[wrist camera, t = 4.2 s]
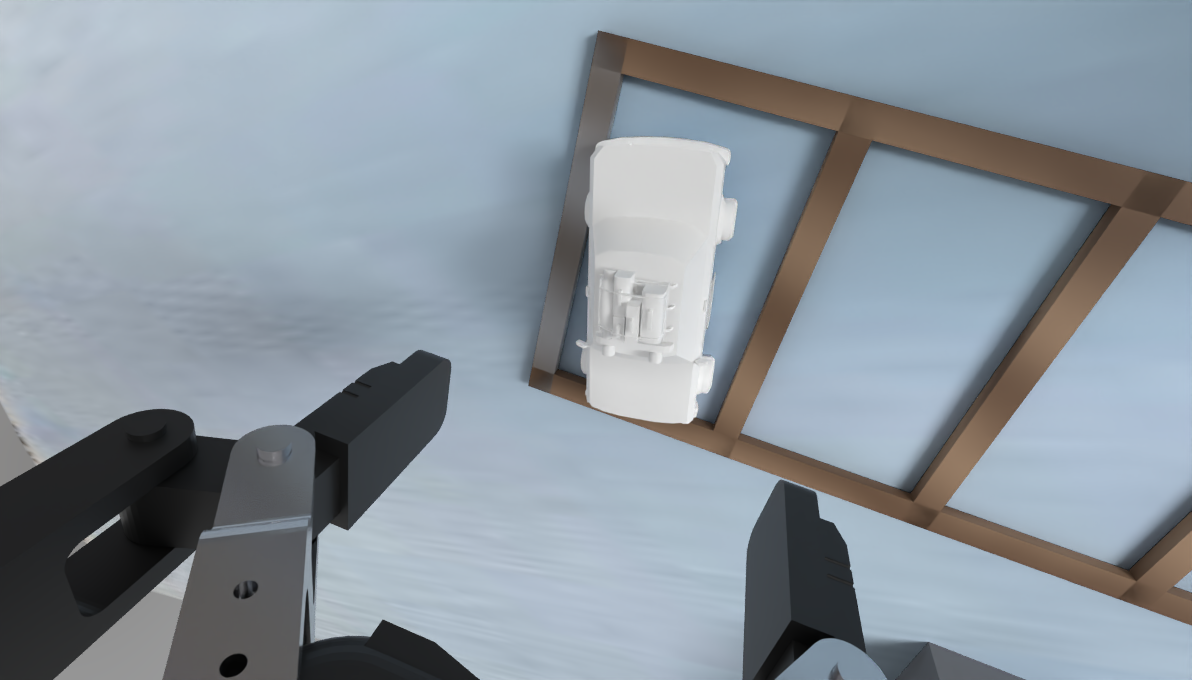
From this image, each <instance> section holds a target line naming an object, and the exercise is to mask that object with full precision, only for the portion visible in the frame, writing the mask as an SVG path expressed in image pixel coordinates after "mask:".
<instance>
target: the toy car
mask: <svg viewBox="0 0 1192 680" xmlns="http://www.w3.org/2000/svg"><path fill="white" fill-rule="evenodd" d="M730 159H731V152H730V150H729V149H728V148H725V147H722V146H719V145H715V144H712V143H709V142H704V141H697V140H691V139H683V138H673V137H655V136H637V137H619V138H614V139H609V140H604V141H601V142H599V143H597V145H596V147H595V152H594V153H593V154H592V155H591V157H590V192H589V193H588V195H587V198H586V202H585V211H584V212H585V220H586V223H587V225H588V227H589V262H588V286H586V297H588V310H587V341H586V342H584V341H582V340H577V341H576V345H577V346H579V347H581V348H583V350H582V355H581V369H582V371H583V373H584V374H587V384H586V391H585V395H586V398H587V402H589V403H590V405H591V406H592V407H594V408H598V409H600V410H601V411H604V412H608V413H612V414H615V415H619V416H624V417H630V418H635V419H641V420H646V421H652V422H660V423H672V424H674V423H682V424H689V423H690V422H691V421H693V418H695V417H696V416H697V412H698V403H697V401H696V395H698V394H701V393H705V394H707V393H708V392H709V391H710V388H711V386H712V379H713V372H714V365H715V359H714V358H713V357H711V355H707V354H702V353H703V345H704V337H705V329H708V325H709V321H710V315H711V307H712V299H713V292H714V284H715V276H716V272H714V276H713V279H712V274H713V266H714V258H715V250H716V245H718V244H721V240H726V241H729V240H730V239H731V238H732V237H733V234H734V227H735V220H736V213H737V206H738V203H737V201H736V199H733V198H724V195H723V194H722V192H723V184H724V176H725V168H726V165H728V166H729V163H730ZM706 321H707V322H706Z"/></svg>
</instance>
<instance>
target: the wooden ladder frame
mask: <svg viewBox="0 0 1192 680" xmlns="http://www.w3.org/2000/svg"><path fill="white" fill-rule="evenodd" d="M624 74H625V75H629V76H633V77H636V78H640V79H644V80H648V81H651V82H655V83H659V84H663V85H666V86H670V87H674V88H678V89H681V90H685V91H689V92H693V93H696V94H700V95H704V96H708V97H711V98H715V99H719V100H723V101H726V102H730V103H734V104H738V105H741V106H745V107H749V108H753V109H756V110H760V111H764V112H768V113H771V114H775V115H779V116H783V117H786V118H790V119H794V120H798V121H801V122H805V123H809V124H813V125H816V126H820V127H824V128H828V129H831V130H835V131H836V133H835V135H834V137H833V140H832V142H831V145H830V147H829V149H828V152H827V154H826V157H825V159H824V161H823V164H822V166H821V169H820V171H819V173H818V176H817V178H816V181H815V183H814V185H813V188H812V190H811V193H810V195H809V198H808V200H807V202H806V205H805V207H804V210H803V212H802V214H801V217H800V219H799V222H798V224H797V226H796V229H795V231H794V234H793V236H792V238H791V241H790V243H789V246H788V248H787V250H786V253H785V255H784V258H783V260H782V262H781V265H780V267H779V270H778V272H777V274H776V277H775V279H774V282H773V284H772V286H771V289H770V291H769V294H768V296H767V298H766V301H765V303H764V306H763V308H762V310H761V313H760V315H759V318H758V320H757V322H756V325H755V327H754V330H753V332H752V334H751V337H750V339H749V342H748V344H747V346H746V349H745V351H744V354H743V356H742V358H741V361H740V363H739V366H738V368H737V370H736V373H735V375H734V378H733V380H732V382H731V385H730V387H729V390H728V392H727V395H726V397H725V399H724V402H723V404H722V407H721V409H720V411H719V414H718V416H717V419H716V421H715V423H714V424H713V423H710V422H707V421H704V420H701V419H698V418H696V417H695V418H693V421H691V422H690V423H689V424H682V423H674V424H672V423H660V422H652V421H646V420H641V419H635V418H630V417H624V416H619V415H615V414H612V413H608V412H604V411H601V410H600V409H598V408H594V407H592V406H591V405H590V403H589V402H587V398H586V395H585V391H586V384H587V379H585V378H583V377H580V376H577V375H574V374H571V373H568V372H566V371H563V370H560V369H558V367H559V362H560V358H561V353H562V349H563V344H564V340H565V336H566V331H567V327H568V322H569V318H570V313H571V309H572V304H573V300H574V296H575V291H576V287H577V282H578V278H579V273H580V269H581V264H582V260H583V256H584V251H585V247H586V242H587V238H588V233H589V227H588V225H587V223H586V220H585V212H584V211H585V202H586V198H587V195H588V193H589V192H590V157H591V155H592V154H593V153H594V152H595V147H596V145H597V143H599V142H601V141H604V140H609V139H610V135H611V131H612V126H613V122H614V118H615V113H616V109H617V104H618V100H619V95H620V91H621V86H622V82H623V78H624ZM872 140H873V141H876V142H880V143H884V144H888V145H891V146H895V147H899V148H903V149H906V150H910V151H914V152H918V153H921V154H925V155H929V156H933V157H936V158H940V159H944V160H948V161H951V162H955V163H959V164H963V165H966V166H970V167H974V168H978V169H981V170H985V171H989V172H993V173H996V174H1000V175H1004V176H1008V177H1011V178H1015V179H1019V180H1023V181H1026V182H1030V183H1034V184H1038V185H1041V186H1045V187H1049V188H1053V189H1056V190H1060V191H1064V192H1068V193H1071V194H1075V195H1079V196H1083V197H1086V198H1090V199H1094V200H1098V201H1101V202H1105V203H1109V204H1111V205H1110V207H1109V208H1108V210H1107V211H1106V212H1105V214H1104V215H1103V217H1102V218H1101V220H1100V221H1099V223H1098V224H1097V225H1096V227H1095V228H1094V230H1093V231H1092V233H1091V234H1090V236H1089V237H1088V238H1087V240H1086V241H1085V243H1084V244H1083V246H1082V247H1081V249H1080V250H1079V251H1078V253H1077V254H1076V256H1075V257H1074V259H1073V260H1072V261H1071V263H1070V264H1069V266H1068V267H1067V269H1066V270H1065V272H1064V273H1063V274H1062V276H1061V277H1060V279H1059V280H1058V282H1057V283H1056V285H1055V286H1054V287H1053V289H1052V290H1051V292H1050V293H1049V295H1048V296H1047V298H1046V299H1045V300H1044V302H1043V303H1042V305H1041V306H1040V308H1039V309H1038V310H1037V312H1036V313H1035V315H1034V316H1033V318H1032V319H1031V321H1030V322H1029V323H1028V325H1027V326H1026V328H1025V329H1024V331H1023V332H1022V334H1021V335H1020V336H1019V338H1018V339H1017V341H1016V342H1015V344H1014V345H1013V347H1012V348H1011V349H1010V351H1009V352H1008V354H1007V355H1006V357H1005V358H1004V359H1003V361H1002V362H1001V364H1000V365H999V367H998V368H997V370H996V371H995V372H994V374H993V375H992V377H991V378H990V380H989V381H988V383H987V384H986V385H985V387H984V388H983V390H982V391H981V393H980V394H979V396H978V397H977V398H976V400H975V401H974V403H973V404H972V406H971V407H970V408H969V410H968V411H967V413H966V414H965V416H964V417H963V419H962V420H961V421H960V423H959V424H958V426H957V427H956V429H955V430H954V432H953V433H952V434H951V436H950V437H949V439H948V440H947V442H946V443H945V444H944V446H943V447H942V449H941V450H940V452H939V453H938V455H937V456H936V457H935V459H934V460H933V462H932V463H931V465H930V466H929V468H928V469H927V470H926V472H925V473H924V475H923V476H922V478H921V479H920V481H919V482H918V483H917V485H916V486H915V488H914V489H913V491H912V492H911V493H908V492H905V491H902V490H899V489H896V488H894V487H891V486H888V485H885V484H882V483H879V482H877V481H874V480H871V479H868V478H865V477H862V476H860V475H857V474H854V473H851V472H848V471H845V470H843V469H840V468H837V467H834V466H831V465H829V464H826V463H823V462H820V461H817V460H814V459H812V458H809V457H806V456H803V455H800V454H797V453H795V452H792V451H789V450H786V449H783V448H780V447H778V446H775V445H772V444H769V443H766V442H763V441H761V440H758V439H755V438H752V437H749V436H747V435H744V434H741V433H740V432H741V430H742V428H743V426H744V424H745V421H746V419H747V417H748V415H749V412H750V410H751V408H752V406H753V404H754V401H755V399H756V397H757V395H758V392H759V390H760V388H761V386H762V384H763V381H764V379H765V377H766V375H767V373H768V370H769V368H770V366H771V364H772V361H773V359H774V357H775V355H776V353H777V350H778V348H779V346H780V344H781V341H782V339H783V337H784V335H785V333H786V330H787V328H788V326H789V324H790V321H791V319H792V317H793V315H794V313H795V310H796V308H797V306H798V304H799V301H800V299H801V297H802V295H803V293H804V290H805V288H806V286H807V284H808V281H809V279H810V277H811V275H812V273H813V270H814V268H815V266H816V264H817V262H818V259H819V257H820V255H821V253H822V250H823V248H824V246H825V244H826V242H827V239H828V237H829V235H830V233H831V230H832V228H833V226H834V224H835V222H836V219H837V217H838V215H839V213H840V210H841V208H842V206H843V204H844V202H845V199H846V197H847V195H848V193H849V190H850V188H851V186H852V184H853V182H854V179H855V177H856V175H857V173H858V170H859V168H860V166H861V164H862V162H863V159H864V157H865V155H866V153H867V150H868V148H869V146H870V144H871V142H872ZM1160 217H1161V218H1165V219H1169V220H1173V221H1176V222H1180V223H1184V224H1188V225H1191V226H1192V183H1191V182H1187V181H1183V180H1180V179H1176V178H1172V177H1168V176H1164V175H1160V174H1156V173H1152V172H1148V171H1144V170H1141V169H1137V168H1133V167H1129V166H1125V165H1121V164H1117V163H1113V162H1109V161H1105V160H1102V159H1098V158H1094V157H1090V156H1086V155H1082V154H1078V153H1074V152H1070V151H1066V150H1063V149H1059V148H1055V147H1051V146H1047V145H1043V144H1039V143H1035V142H1031V141H1027V140H1024V139H1020V138H1016V137H1012V136H1008V135H1004V134H1000V133H996V132H992V131H988V130H985V129H981V128H977V127H973V126H969V125H965V124H961V123H957V122H953V121H949V120H946V119H942V118H938V117H934V116H930V115H926V114H922V113H918V112H914V111H910V110H907V109H903V108H899V107H895V106H891V105H887V104H883V103H879V102H875V101H872V100H868V99H864V98H860V97H856V96H852V95H848V94H844V93H840V92H836V91H833V90H829V89H825V88H821V87H817V86H813V85H809V84H805V83H801V82H797V81H794V80H790V79H786V78H782V77H778V76H774V75H770V74H766V73H762V72H758V71H755V70H751V69H747V68H743V67H739V66H735V65H731V64H727V63H723V62H719V61H716V60H712V59H708V58H704V57H700V56H696V55H692V54H688V53H684V52H680V51H677V50H673V49H669V48H665V47H661V46H657V45H653V44H649V43H645V42H641V41H638V40H634V39H630V38H626V37H622V36H618V35H614V34H610V33H606V32H602V31H599V30H598V34H597V39H596V45H595V50H594V55H593V60H592V65H591V70H590V75H589V80H588V85H587V90H586V95H585V101H584V106H583V111H582V116H581V121H580V126H579V131H578V136H577V141H576V146H575V151H574V156H573V162H572V167H571V172H570V177H569V182H568V187H567V192H566V197H565V202H564V207H563V212H562V217H561V223H560V228H559V233H558V238H557V243H556V248H555V253H554V258H553V263H552V268H551V273H550V278H549V284H548V289H547V294H546V299H545V304H544V309H543V314H542V319H541V324H540V329H539V334H538V340H537V345H536V350H535V355H534V360H533V365H532V370H531V375H530V380H529V385H528V386H531V387H533V388H536V389H539V390H542V391H544V392H547V393H550V394H553V395H555V396H558V397H561V398H564V399H567V400H569V401H572V402H575V403H578V404H580V405H583V406H586V407H589V408H591V409H594V410H597V411H600V412H603V413H605V414H608V415H611V416H614V417H616V418H619V419H622V420H625V421H627V422H630V423H633V424H636V425H639V426H641V427H644V428H647V429H650V430H652V431H655V432H658V433H661V434H663V435H666V436H669V437H672V438H674V439H677V440H680V441H683V442H686V443H688V444H691V445H694V446H697V447H699V448H702V449H705V450H708V451H710V452H713V453H716V454H719V455H722V456H724V457H727V458H730V459H733V460H735V461H738V462H741V463H744V464H746V465H749V466H752V467H755V468H758V469H760V470H763V471H766V472H769V473H771V474H774V475H777V476H780V477H782V478H785V479H788V480H791V481H793V482H796V483H799V484H802V485H805V486H807V487H810V488H813V489H816V490H818V491H821V492H824V493H827V494H829V495H832V496H835V497H838V498H841V499H843V500H846V501H849V502H852V503H854V504H857V505H860V506H863V507H865V508H868V509H871V510H874V511H876V512H879V513H882V514H885V515H888V516H890V517H893V518H896V519H899V520H901V521H904V522H907V523H910V524H912V525H915V526H918V527H921V528H924V529H926V530H929V531H932V532H935V533H937V534H940V535H943V536H946V537H948V538H951V539H954V540H957V541H960V542H962V543H965V544H968V545H971V546H973V547H976V548H979V549H982V550H984V551H987V552H990V553H993V554H995V555H998V556H1001V557H1004V558H1007V559H1009V560H1012V561H1015V562H1018V563H1020V564H1023V565H1026V566H1029V567H1031V568H1034V569H1037V570H1040V571H1043V572H1045V573H1048V574H1051V575H1054V576H1056V577H1059V578H1062V579H1065V580H1067V581H1070V582H1073V583H1076V584H1079V585H1081V586H1084V587H1087V588H1090V589H1092V590H1095V591H1098V592H1101V593H1103V594H1106V595H1109V596H1112V597H1114V598H1117V599H1120V600H1123V601H1126V602H1128V603H1131V604H1134V605H1137V606H1139V607H1142V608H1145V609H1148V610H1150V611H1153V612H1156V613H1159V614H1162V615H1164V616H1167V617H1170V618H1173V619H1175V620H1178V621H1181V622H1184V623H1186V624H1189V625H1192V593H1190V592H1188V591H1185V590H1182V589H1179V588H1176V587H1173V586H1174V585H1175V584H1176V583H1178V582H1179V581H1180V580H1181V579H1182V578H1183V577H1184V576H1186V575H1187V574H1188V573H1189V572H1190V571H1191V570H1192V511H1191V512H1190V513H1189V514H1188V515H1187V516H1186V517H1185V518H1184V519H1183V520H1182V521H1181V522H1180V523H1179V524H1178V525H1177V526H1175V527H1174V528H1173V529H1172V530H1171V531H1170V532H1169V533H1168V534H1167V535H1166V536H1165V537H1164V538H1163V539H1162V540H1161V541H1159V542H1158V543H1157V544H1156V545H1155V546H1154V547H1153V548H1152V549H1151V550H1150V551H1149V552H1148V553H1147V554H1146V555H1145V556H1144V557H1142V558H1141V559H1140V560H1139V561H1138V562H1137V563H1136V564H1135V565H1134V566H1133V567H1132V568H1131V569H1130V570H1129V571H1128V570H1125V569H1123V568H1120V567H1117V566H1114V565H1111V564H1108V563H1106V562H1103V561H1100V560H1097V559H1094V558H1091V557H1089V556H1086V555H1083V554H1080V553H1077V552H1074V551H1072V550H1069V549H1066V548H1063V547H1060V546H1058V545H1055V544H1052V543H1049V542H1046V541H1043V540H1041V539H1038V538H1035V537H1032V536H1029V535H1026V534H1024V533H1021V532H1018V531H1015V530H1012V529H1009V528H1007V527H1004V526H1001V525H998V524H995V523H992V522H990V521H987V520H984V519H981V518H978V517H976V516H973V515H970V514H967V513H964V512H961V511H959V510H956V509H953V508H950V507H947V506H945V505H946V503H947V502H948V501H949V499H950V498H951V497H952V495H953V494H954V493H955V491H956V490H957V489H958V487H959V486H960V485H961V483H962V482H963V481H964V479H965V478H966V477H967V475H968V474H969V473H970V471H971V470H972V469H973V467H974V466H975V465H976V463H977V462H978V461H979V459H980V458H981V457H982V455H983V454H984V453H985V451H986V450H987V449H988V447H989V446H990V445H991V443H992V442H993V441H994V439H995V438H996V437H997V435H998V434H999V433H1000V431H1001V430H1002V429H1003V427H1004V426H1005V425H1006V423H1007V422H1008V421H1009V419H1010V418H1011V416H1012V415H1013V414H1014V412H1015V411H1016V410H1017V408H1018V407H1019V406H1020V404H1021V403H1022V402H1023V400H1024V399H1025V398H1026V396H1027V395H1028V394H1029V392H1030V391H1031V390H1032V388H1033V387H1034V386H1035V384H1036V383H1037V382H1038V380H1039V379H1040V378H1041V376H1042V375H1043V374H1044V372H1045V371H1046V370H1047V368H1048V367H1049V366H1050V364H1051V363H1052V362H1053V360H1054V359H1055V358H1056V356H1057V355H1058V354H1059V352H1060V351H1061V350H1062V348H1063V347H1064V346H1065V344H1066V343H1067V342H1068V340H1069V339H1070V338H1071V336H1072V335H1073V334H1074V332H1075V331H1076V330H1077V328H1078V327H1079V326H1080V324H1081V323H1082V322H1083V320H1084V319H1085V318H1086V316H1087V315H1088V313H1089V312H1090V311H1091V309H1092V308H1093V307H1094V305H1095V304H1096V303H1097V301H1098V300H1099V299H1100V297H1101V296H1102V295H1103V293H1104V292H1105V291H1106V289H1107V288H1108V287H1109V285H1110V284H1111V283H1112V281H1113V280H1114V279H1115V277H1116V276H1117V275H1118V273H1119V272H1120V271H1121V269H1122V268H1123V267H1124V265H1125V264H1126V263H1127V261H1128V260H1129V259H1130V257H1131V256H1132V255H1133V253H1134V252H1135V251H1136V249H1137V248H1138V247H1139V245H1140V244H1141V243H1142V241H1143V240H1144V239H1145V237H1146V236H1147V235H1148V233H1149V232H1150V231H1151V229H1152V228H1153V227H1154V225H1155V224H1156V223H1157V221H1158V220H1159V219H1160Z"/></svg>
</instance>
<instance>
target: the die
mask: <svg viewBox="0 0 1192 680" xmlns="http://www.w3.org/2000/svg"><path fill="white" fill-rule="evenodd" d="M896 680H1025V679H1022V678H1020V677H1017V676H1015V675H1012V674H1010V673H1007V672H1005V671H1002V670H999V669H997V668H994V667H992V666H989V665H987V664H984V663H981V662H979V661H976V660H974V659H971V658H969V657H966V656H963V655H961V654H958V653H956V652H953V651H951V650H948V649H946V648H943V647H940V646H938V645H935V644H933V643H930V642H928V643H927V644H926V646H925V647H924V648H923V649H922V650H921V651H920V652H919V654H918V655H917V656H916V657H915V658H914V659H913V660H912V662H911V663H910V664H909V665H908V666H907V667H906V668H905V670H904V671H903V672H902V673H901V674H900V675H899V676H898V678H897V679H896Z"/></svg>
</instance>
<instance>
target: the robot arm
mask: <svg viewBox="0 0 1192 680" xmlns="http://www.w3.org/2000/svg"><path fill="white" fill-rule="evenodd" d="M450 374H451V362H450V360H448V359H445V358H443V357H440V356H437V355H434V354H431V353H429V352H426V351H423V350H418V351H416V352H415V353H413V354H412V355H411V356H410V357H408V358H407V359H406V360H404V361H403V362H402V363H401V364H397V363H395V362H390V363H387V364H384V365H381V366H378V367H375V368H372V369H370V370H369V371H368V372H366V373H365V374H363V375H362V376H361V377H359V378H358V379H357V380H356V381H355V383H351V384H350V385H349V386H347V387H346V388H345V389H343V391H342V393H341V392H339V393H338V394H336V395H335V396H334V397H332V398H331V399H330V400H328V401H327V402H326V403H324V404H323V405H322V406H320V407H319V408H318V409H316V410H315V411H313V412H312V413H311V414H309V415H308V416H307V417H305V418H304V419H303V420H301V421H300V422H299V423H297V424H296V425H295V426H291V425H273V426H267V427H263V428H259V429H256V430H254V431H252V432H250V433H248V434H246V435H244V436H243V437H242V438H240V439H239V440H231V439H222V438H213V437H205V436H196V434H195V428H194V423H193V420H192V419H191V418H190V417H189V416H188V415H186V414H184V413H182V412H179V411H175V410H169V409H152V410H145V411H140V412H136V413H133V414H129V415H127V416H124V417H121V418H119V419H117V420H115V421H114V422H112V423H110V424H108V425H107V426H105V427H103V428H101V429H100V430H98V431H96V432H94V433H93V434H91V435H89V436H87V437H86V438H84V439H82V440H80V441H79V442H77V443H75V444H74V445H72V446H70V447H68V448H67V449H65V450H63V451H61V452H60V453H58V454H56V455H54V456H53V457H51V458H49V459H47V460H46V461H44V462H42V463H40V464H39V465H37V466H35V467H34V468H32V469H30V470H28V471H27V472H25V473H23V474H21V475H20V476H18V477H16V478H14V479H13V480H11V481H9V482H7V483H6V484H4V485H2V486H0V680H53V679H54V678H55V677H56V676H58V675H59V674H60V673H61V672H62V671H63V670H64V669H65V668H66V667H67V666H69V665H70V664H71V663H72V662H73V661H74V660H75V659H76V658H77V657H79V656H80V655H81V654H82V653H83V652H84V651H85V650H86V649H87V648H88V647H90V646H91V645H92V644H93V643H94V642H95V641H96V640H97V639H98V638H99V637H100V636H102V635H103V634H104V633H105V632H106V631H107V630H108V629H109V628H110V627H112V626H113V625H114V624H115V623H116V622H117V621H118V620H119V619H120V618H122V616H124V615H125V614H126V613H127V612H128V611H129V610H130V609H131V608H133V607H134V606H135V605H136V604H137V603H138V602H139V601H140V600H141V599H142V598H143V597H145V596H146V595H147V594H148V593H149V592H150V591H151V590H152V589H154V588H155V587H156V586H157V585H158V584H159V583H160V582H161V581H162V580H163V579H165V578H166V577H167V576H168V575H169V574H170V573H171V572H172V571H173V570H175V569H176V568H177V567H178V566H179V565H180V564H181V563H182V562H183V561H184V560H186V559H187V558H188V557H189V556H190V555H191V554H192V553H193V552H194V551H195V550H196V552H195V556H194V560H193V564H192V568H191V571H190V575H189V579H188V583H187V587H186V591H185V595H184V598H183V603H182V606H181V610H180V614H179V618H178V622H177V625H176V629H175V633H174V637H173V641H172V645H171V649H170V653H169V657H168V660H167V664H166V668H165V672H164V676H163V679H162V680H480V679H478V678H477V677H476V676H475V675H473V674H472V673H471V672H470V671H469V670H467V669H466V668H465V667H464V666H463V665H461V664H460V663H459V662H458V661H457V660H455V659H454V658H453V657H452V656H451V655H449V654H448V653H447V652H446V651H445V650H443V649H442V648H441V647H440V646H439V645H438V644H436V643H435V642H433V641H431V640H428V639H426V638H424V637H422V636H419V635H417V634H415V633H412V632H410V631H408V630H406V629H403V628H401V627H399V626H396V625H394V624H392V623H390V622H387V621H385V620H382V621H381V623H380V624H379V626H378V627H377V628H376V630H375V631H374V633H373V634H372V636H371V637H367V636H343V637H334V638H329V639H324V640H320V641H316V642H315V610H316V589H317V568H318V547H319V533H320V532H321V531H322V530H323V529H324V528H325V527H326V526H327V525H328V524H329V523H331V524H334V525H336V526H338V527H341V528H343V529H346V530H349V529H350V528H351V527H352V526H353V524H354V523H355V522H356V521H357V520H358V519H359V518H360V517H361V516H362V515H363V514H364V512H365V511H366V510H367V509H368V508H369V507H370V506H371V505H372V504H373V503H374V502H375V501H376V499H377V498H378V497H379V496H380V495H381V494H382V493H383V492H384V491H385V490H386V489H387V487H388V486H389V485H390V484H391V483H392V482H393V481H394V480H395V479H396V478H397V477H398V476H399V474H400V473H401V472H402V471H403V470H404V469H405V468H406V467H407V466H408V465H409V464H410V462H411V461H412V460H413V459H414V458H415V457H416V456H417V455H418V454H419V453H420V452H421V451H422V449H423V448H424V447H425V446H426V445H427V444H428V443H429V442H430V441H431V440H432V439H433V437H434V436H435V435H436V434H437V432H438V431H439V429H440V428H441V426H442V423H443V421H444V418H445V415H446V410H447V401H448V392H449V383H450ZM118 514H119V515H120V518H121V519H120V520H119V521H117V522H116V523H115V524H113V525H112V526H110V527H109V528H108V529H106V530H105V531H104V532H102V533H101V534H100V535H98V536H97V537H96V538H94V539H93V540H92V541H90V542H89V543H88V544H86V545H85V546H84V547H82V548H81V549H79V550H78V551H77V552H75V553H74V554H73V555H71V556H70V557H69V558H68V556H69V555H70V553H71V552H72V550H73V549H74V548H75V547H76V546H77V545H78V544H79V543H80V542H81V541H82V540H84V539H85V538H86V537H88V536H89V535H90V534H92V533H93V532H95V531H96V530H97V529H99V528H100V527H101V526H103V525H104V524H105V523H107V522H108V521H110V520H111V519H112V518H114V517H115V516H116V515H118ZM853 584H854V583H853V577H852V572H851V570H850V561H849V555H848V549H847V545H846V543H845V541H844V540H843V538H842V536H841V535H840V533H839V531H838V530H837V528H836V526H835V525H834V523H832V522H829V521H826V520H823V519H821V518H820V516H819V509H818V501H817V495H816V493H815V492H814V491H812V490H809V489H806V488H803V487H801V486H798V485H795V484H792V483H789V482H787V481H784V480H780V481H778V483H777V484H776V486H775V487H774V489H773V491H772V493H771V495H770V497H769V499H768V501H767V503H766V505H765V507H764V509H763V511H762V513H761V514H760V516H759V518H758V520H757V522H756V524H755V526H754V528H753V531H752V533H751V536H750V540H749V544H748V549H747V562H746V592H745V622H744V652H743V680H887V678H886V677H885V675H884V673H883V672H882V671H881V669H880V668H879V667H878V665H877V664H876V663H875V662H874V661H873V660H872V659H871V658H870V657H869V656H868V655H867V654H866V649H865V644H864V638H863V633H862V627H861V622H860V616H859V611H858V605H857V599H856V594H855V588H853Z"/></svg>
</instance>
